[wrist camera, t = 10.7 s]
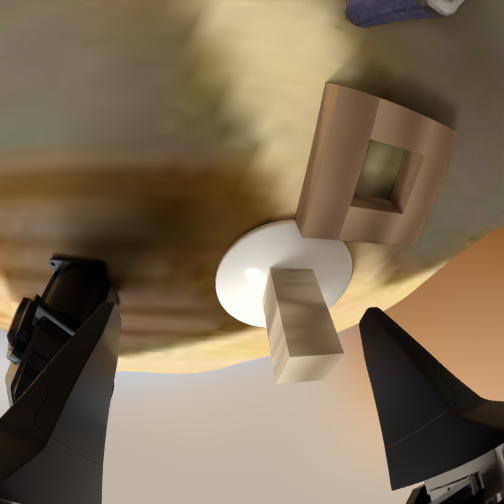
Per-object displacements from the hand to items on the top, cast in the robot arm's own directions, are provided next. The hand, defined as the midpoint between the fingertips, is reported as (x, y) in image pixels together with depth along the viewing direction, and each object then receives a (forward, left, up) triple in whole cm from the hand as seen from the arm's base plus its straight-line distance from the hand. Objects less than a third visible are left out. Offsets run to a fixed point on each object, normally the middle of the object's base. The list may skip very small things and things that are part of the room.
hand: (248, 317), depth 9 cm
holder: (+11, +2, -13) cm, 17 cm away
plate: (+6, -10, -13) cm, 17 cm away
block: (+6, -10, -12) cm, 17 cm away
